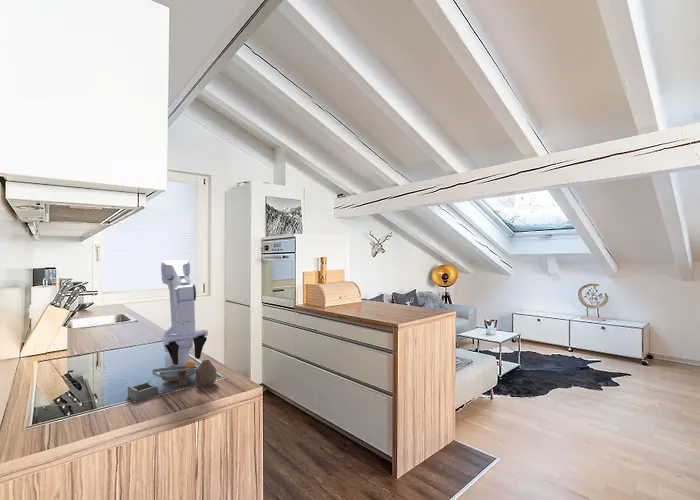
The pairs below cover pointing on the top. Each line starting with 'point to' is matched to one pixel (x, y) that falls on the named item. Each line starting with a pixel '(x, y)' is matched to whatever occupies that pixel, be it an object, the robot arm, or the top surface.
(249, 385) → the top surface
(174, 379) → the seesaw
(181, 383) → the stand
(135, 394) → the grey open box
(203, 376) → the vase
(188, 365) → the ball
